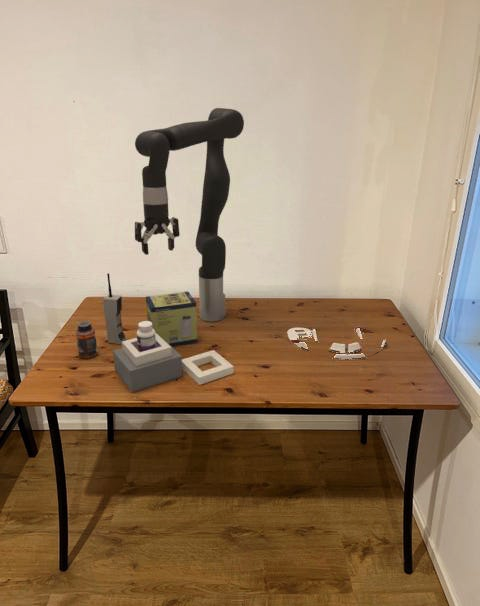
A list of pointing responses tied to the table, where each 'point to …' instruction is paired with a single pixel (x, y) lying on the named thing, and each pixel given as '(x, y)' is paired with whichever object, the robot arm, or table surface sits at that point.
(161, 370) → the grey white square block
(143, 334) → the pill bottle
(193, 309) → the protein box
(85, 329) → the supplement bottle
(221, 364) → the collar
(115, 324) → the vintage mobile phone
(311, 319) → the table surface
